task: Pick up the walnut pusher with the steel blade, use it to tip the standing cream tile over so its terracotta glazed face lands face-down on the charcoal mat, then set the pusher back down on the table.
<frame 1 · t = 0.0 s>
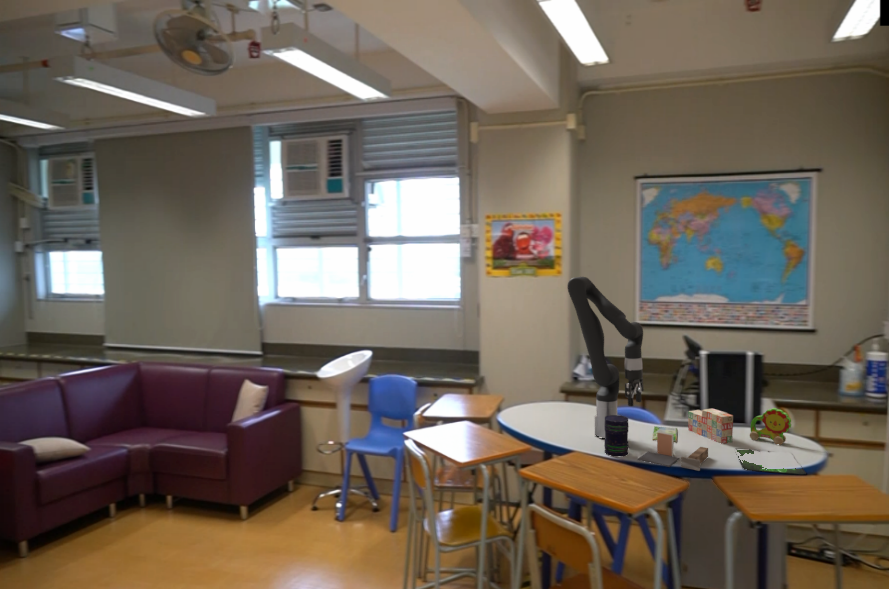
hand: (634, 404, 269), 17 cm above the table, tool pointing down, fingers open, 8 cm apart
green number board: (664, 436, 280), on the table
storage jar: (616, 453, 257), on the table
mat: (658, 459, 248), on the table
pusher: (697, 462, 244), on the table
stack of blocks: (709, 436, 276), on the table
tile: (665, 454, 254), on the table
toy lion: (770, 442, 267), on the table
mouse mat: (768, 462, 244), on the table
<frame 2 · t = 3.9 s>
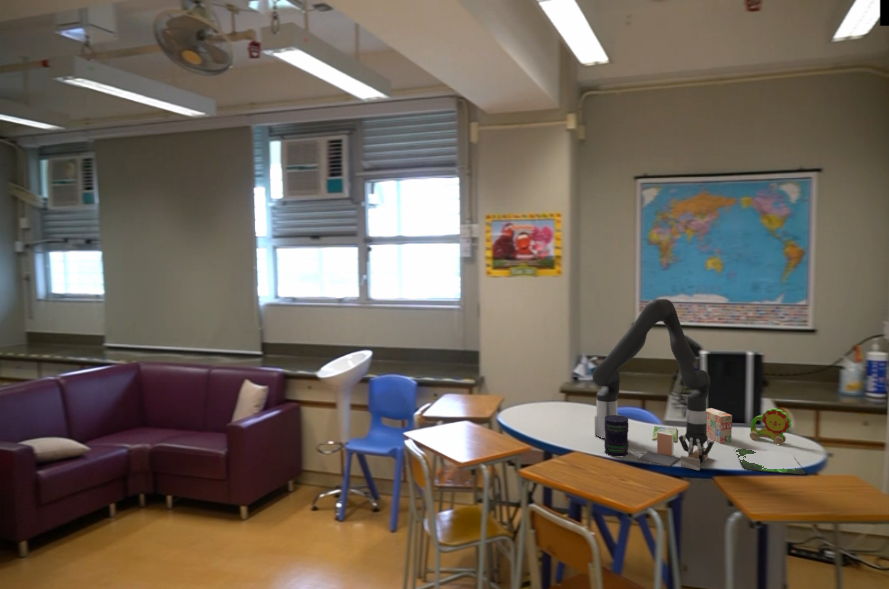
hand: (696, 462, 242), 0 cm above the table, tool pointing down, fingers closed on pusher, 2 cm apart
pusher: (697, 462, 244), on the table, touching gripper
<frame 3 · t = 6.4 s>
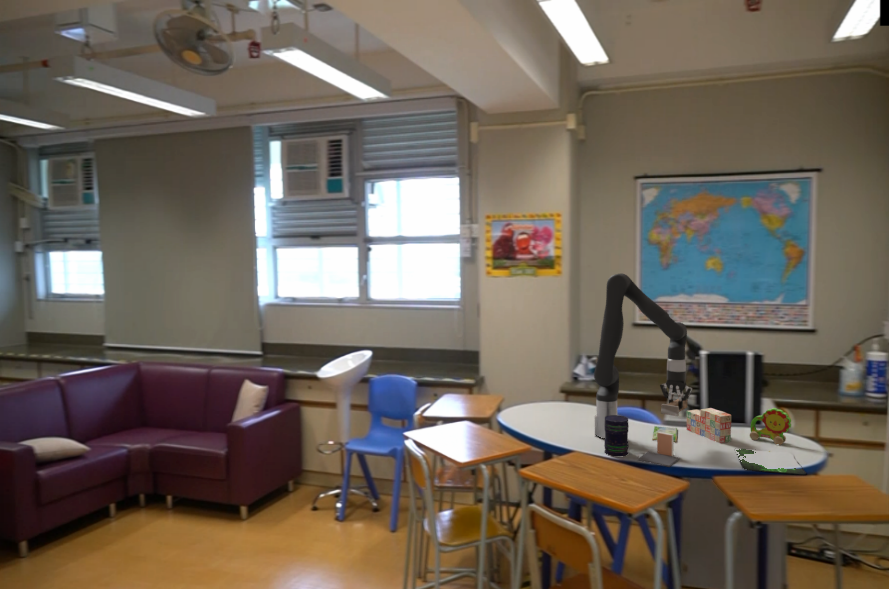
hand: (675, 408, 261), 17 cm above the table, tool pointing down, fingers closed on pusher, 3 cm apart
pusher: (677, 410, 263), point 16 cm above the table, touching gripper
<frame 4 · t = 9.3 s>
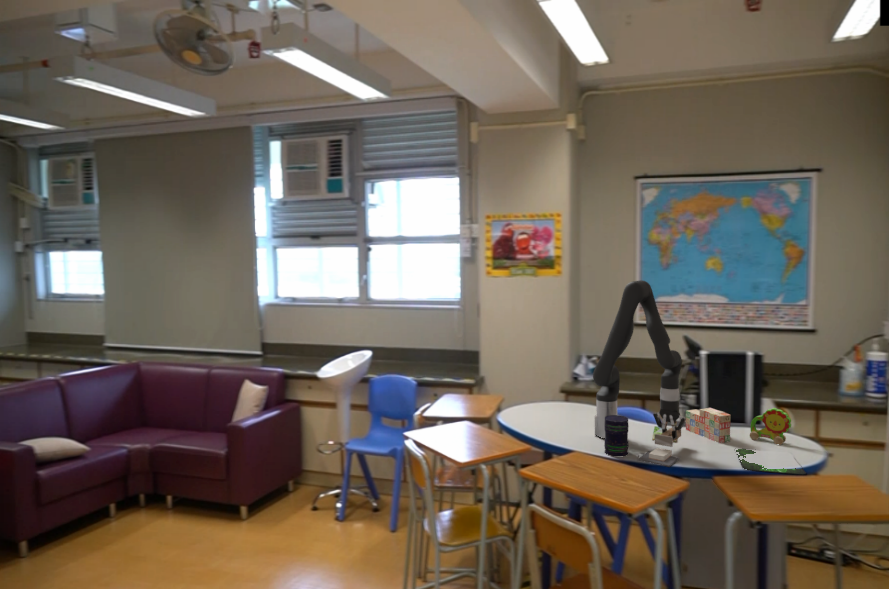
hand: (669, 438, 257), 6 cm above the table, tool pointing down, fingers closed on pusher, 3 cm apart
pusher: (671, 439, 258), point 5 cm above the table, touching gripper
tile: (664, 451, 253), point 2 cm above the table, tilted 90°, touching mat
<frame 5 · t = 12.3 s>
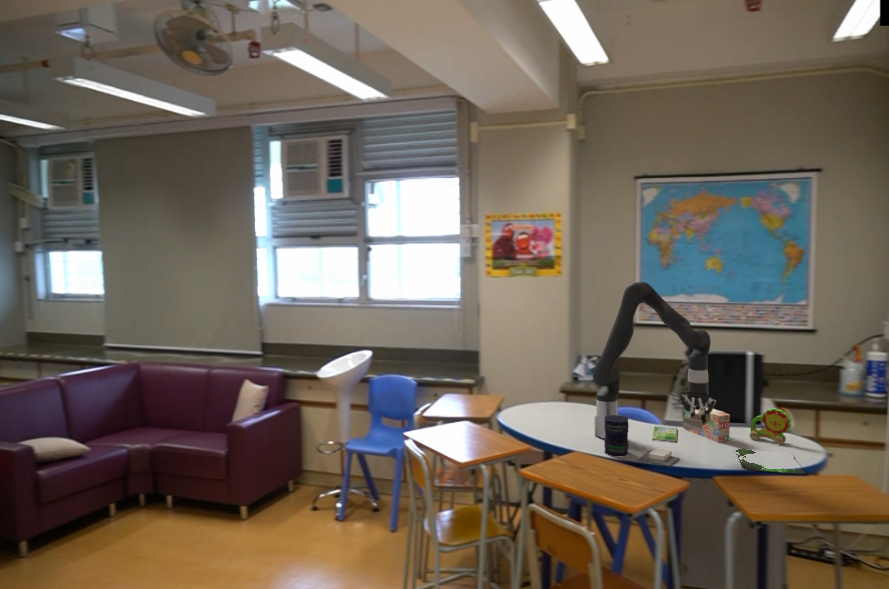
hand: (698, 422, 244), 16 cm above the table, tool pointing down, fingers closed on pusher, 3 cm apart
pusher: (699, 424, 245), point 15 cm above the table, touching gripper
when the fingers open (2 cm above the table, at t = 15.2 s): pusher stays where it is, on the table.
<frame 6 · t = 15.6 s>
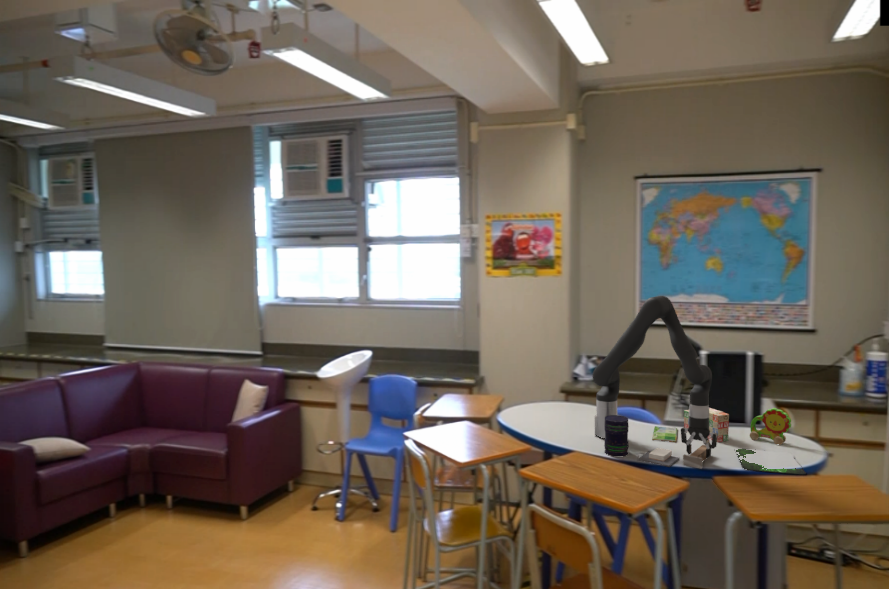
hand: (698, 455, 245), 2 cm above the table, tool pointing down, fingers open, 6 cm apart
pusher: (699, 460, 246), on the table
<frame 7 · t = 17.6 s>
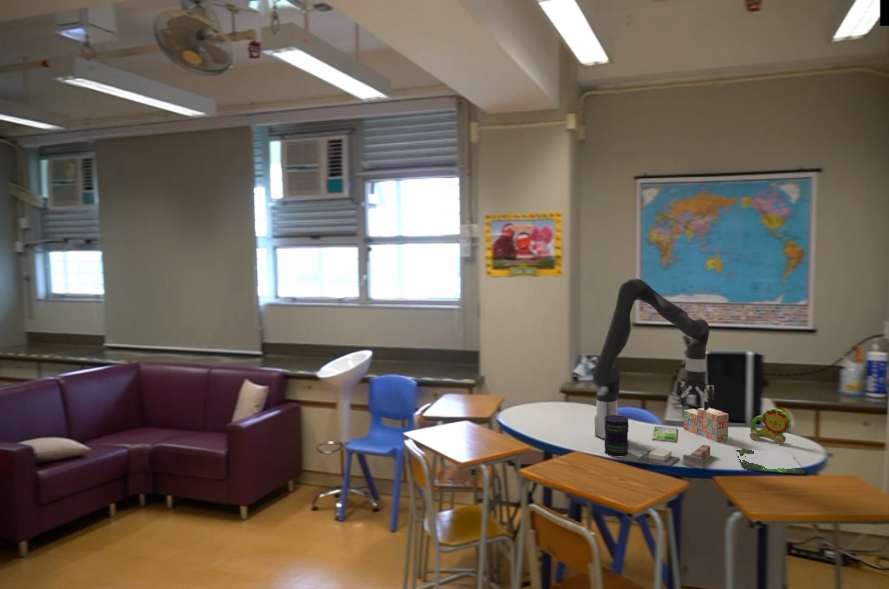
hand: (694, 408, 246), 21 cm above the table, tool pointing down, fingers open, 8 cm apart
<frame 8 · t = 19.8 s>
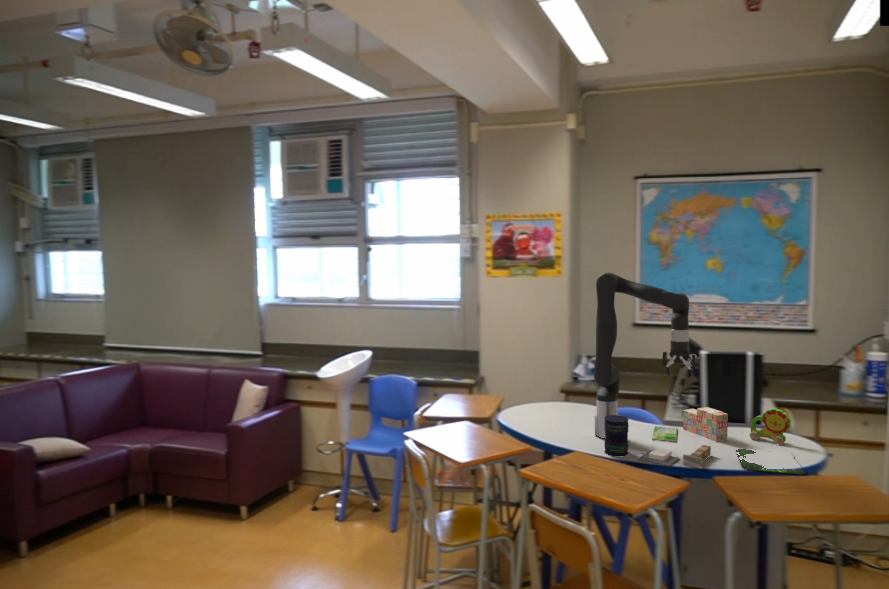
hand: (679, 376, 263), 30 cm above the table, tool pointing down, fingers open, 8 cm apart
at the end: tile tilted 90°; tile touching mat; pusher inside the target area (0.4 cm from its centre), on the table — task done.
